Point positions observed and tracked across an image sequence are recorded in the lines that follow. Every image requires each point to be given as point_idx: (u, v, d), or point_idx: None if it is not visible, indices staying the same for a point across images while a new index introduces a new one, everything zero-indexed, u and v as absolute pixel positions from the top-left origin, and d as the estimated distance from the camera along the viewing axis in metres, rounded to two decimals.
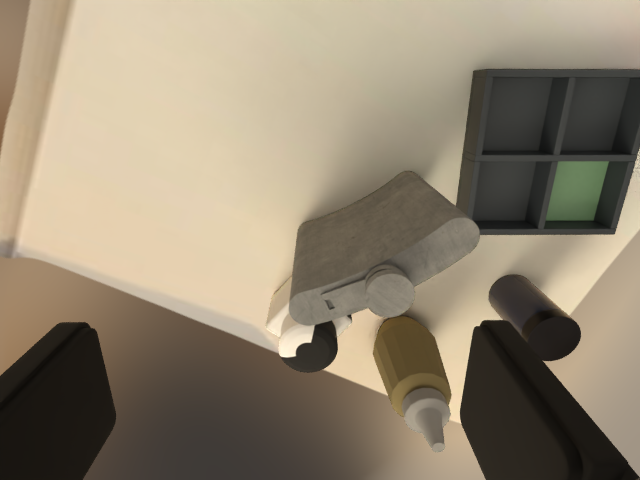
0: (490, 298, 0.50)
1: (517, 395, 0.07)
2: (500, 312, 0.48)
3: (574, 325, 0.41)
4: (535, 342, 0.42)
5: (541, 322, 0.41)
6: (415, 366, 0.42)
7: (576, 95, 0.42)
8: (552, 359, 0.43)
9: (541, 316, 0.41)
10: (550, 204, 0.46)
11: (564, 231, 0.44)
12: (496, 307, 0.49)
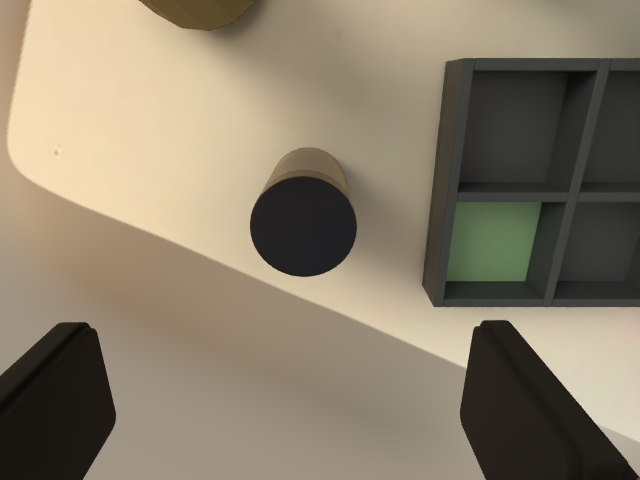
0: (303, 149, 0.28)
1: (517, 395, 0.07)
2: (296, 156, 0.26)
3: (336, 259, 0.21)
4: (295, 192, 0.20)
5: (343, 196, 0.20)
6: None
7: (622, 219, 0.30)
8: (254, 235, 0.21)
9: (348, 198, 0.21)
10: (468, 216, 0.30)
11: (447, 235, 0.28)
12: (298, 153, 0.27)
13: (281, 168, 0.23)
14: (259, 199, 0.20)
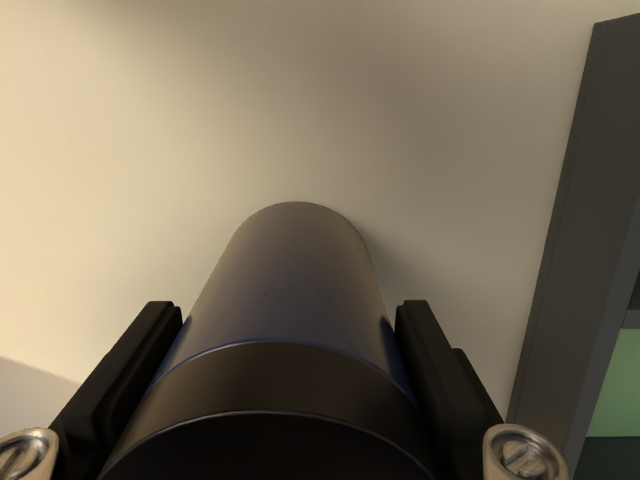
0: (287, 206, 0.14)
1: (416, 362, 0.08)
2: (267, 236, 0.11)
3: None
4: (237, 461, 0.05)
5: (417, 467, 0.05)
6: None
7: None
8: None
9: (425, 442, 0.06)
10: None
11: (592, 391, 0.13)
12: (272, 223, 0.12)
13: (221, 287, 0.09)
14: None
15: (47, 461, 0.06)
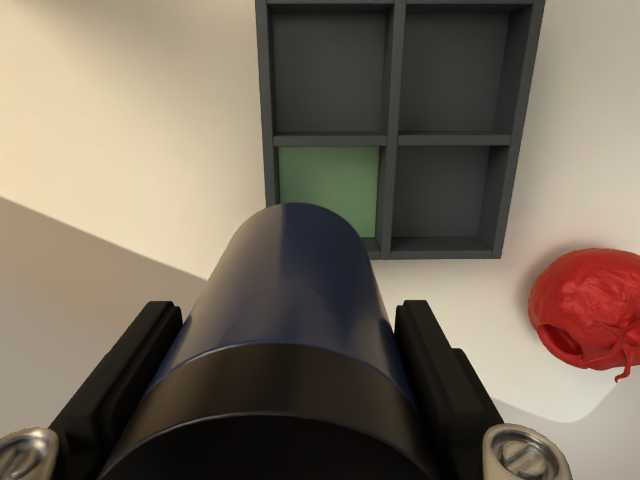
0: (286, 207, 0.14)
1: (416, 362, 0.08)
2: (267, 237, 0.11)
3: None
4: (237, 462, 0.05)
5: (416, 468, 0.05)
6: None
7: (464, 170, 0.30)
8: None
9: (425, 444, 0.06)
10: (305, 167, 0.29)
11: (270, 182, 0.27)
12: (272, 224, 0.12)
13: (220, 288, 0.09)
14: None
15: (47, 461, 0.06)
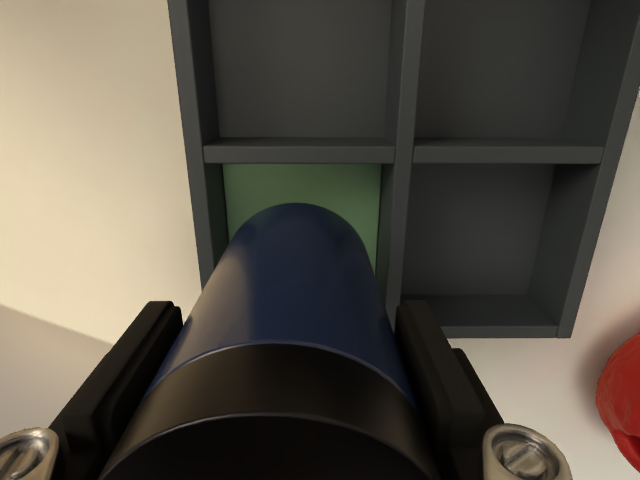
0: (287, 207, 0.14)
1: (416, 362, 0.08)
2: (267, 237, 0.11)
3: None
4: (237, 463, 0.05)
5: (417, 469, 0.05)
6: None
7: (513, 198, 0.19)
8: None
9: (425, 444, 0.06)
10: (266, 192, 0.19)
11: (202, 221, 0.16)
12: (272, 224, 0.12)
13: (221, 289, 0.09)
14: None
15: (47, 461, 0.06)
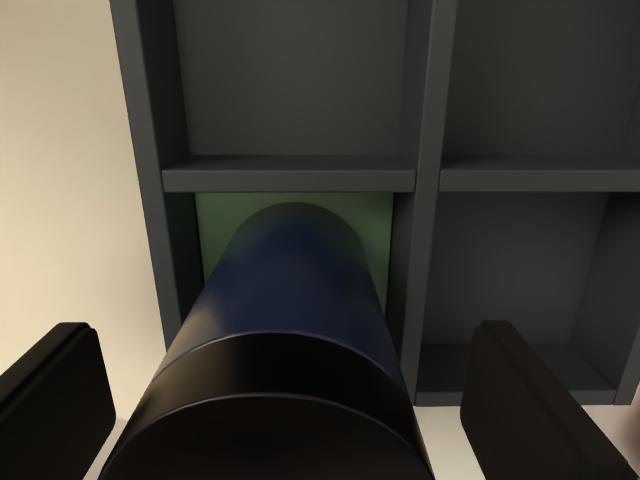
0: (285, 207, 0.14)
1: (517, 395, 0.07)
2: (266, 235, 0.11)
3: None
4: (238, 442, 0.06)
5: (405, 447, 0.06)
6: None
7: (557, 229, 0.15)
8: None
9: (414, 426, 0.07)
10: None
11: (164, 266, 0.12)
12: (271, 223, 0.12)
13: (222, 283, 0.09)
14: (113, 459, 0.06)
15: None
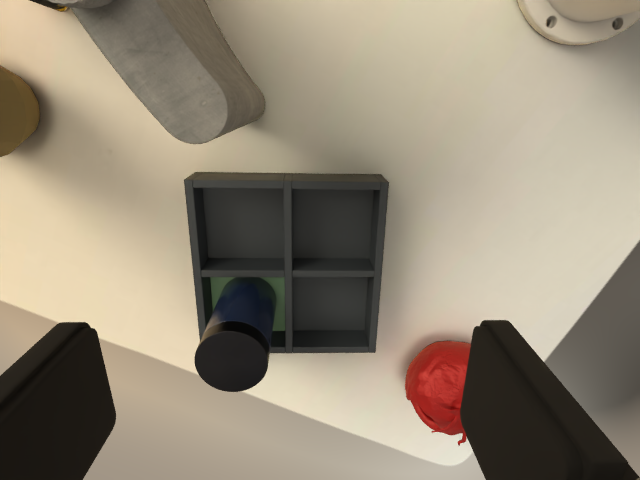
0: (243, 277, 0.38)
1: (517, 395, 0.07)
2: (235, 291, 0.35)
3: (255, 381, 0.31)
4: (225, 341, 0.30)
5: (257, 342, 0.30)
6: None
7: (351, 284, 0.40)
8: (197, 366, 0.30)
9: (262, 341, 0.30)
10: None
11: (200, 300, 0.36)
12: (237, 286, 0.36)
13: (221, 308, 0.33)
14: (200, 345, 0.30)
15: None
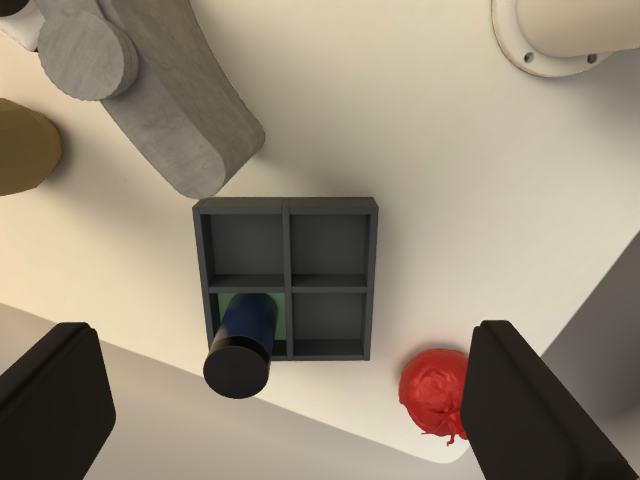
0: None
1: (517, 395, 0.07)
2: (239, 306, 0.39)
3: (257, 389, 0.34)
4: (229, 354, 0.33)
5: (259, 355, 0.33)
6: None
7: (347, 297, 0.43)
8: (206, 377, 0.34)
9: (263, 353, 0.34)
10: None
11: (208, 314, 0.40)
12: (241, 301, 0.40)
13: (226, 323, 0.37)
14: (208, 357, 0.33)
15: None
